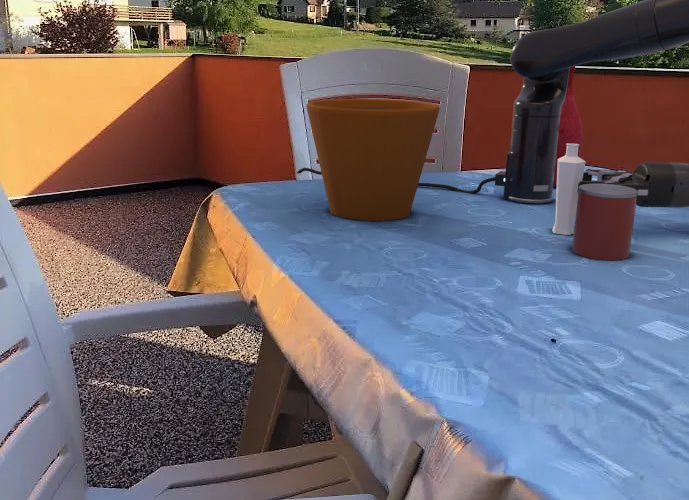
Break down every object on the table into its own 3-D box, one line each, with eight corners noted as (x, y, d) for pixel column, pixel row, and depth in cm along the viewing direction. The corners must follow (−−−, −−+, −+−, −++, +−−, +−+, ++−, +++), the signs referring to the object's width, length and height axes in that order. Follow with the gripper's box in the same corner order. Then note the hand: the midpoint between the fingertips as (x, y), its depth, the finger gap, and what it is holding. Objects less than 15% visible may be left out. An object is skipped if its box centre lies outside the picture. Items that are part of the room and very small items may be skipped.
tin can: (567, 255, 108) (575, 190, 105) (576, 242, 115) (583, 181, 112) (626, 263, 104) (635, 196, 101) (631, 249, 111) (639, 186, 109)
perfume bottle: (579, 236, 118) (589, 146, 114) (551, 234, 119) (561, 145, 115) (576, 229, 123) (585, 143, 119) (549, 228, 124) (558, 141, 119)
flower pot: (288, 221, 125) (287, 105, 119) (327, 195, 147) (328, 96, 141) (421, 232, 119) (428, 111, 113) (441, 203, 141) (447, 101, 135)
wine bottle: (580, 183, 165) (595, 49, 157) (574, 190, 157) (590, 49, 148) (537, 179, 169) (549, 48, 161) (529, 186, 160) (542, 48, 152)
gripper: (653, 156, 124) (560, 154, 124) (690, 170, 111) (586, 168, 111) (647, 198, 127) (556, 196, 127) (683, 216, 113) (581, 214, 113)
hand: (570, 183), depth 119 cm, fingers open, 8 cm apart
